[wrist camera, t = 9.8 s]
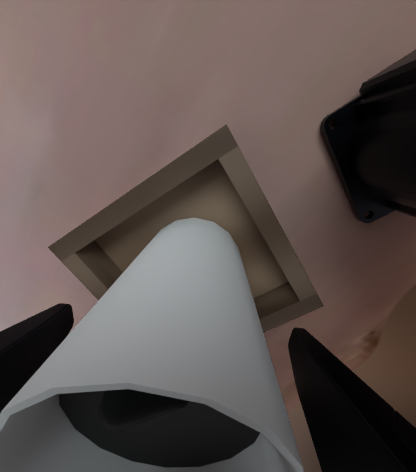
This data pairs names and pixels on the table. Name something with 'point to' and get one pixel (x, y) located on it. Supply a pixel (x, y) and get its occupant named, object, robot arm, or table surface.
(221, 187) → the frame
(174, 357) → the white cup
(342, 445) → the robot arm
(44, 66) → the table surface
